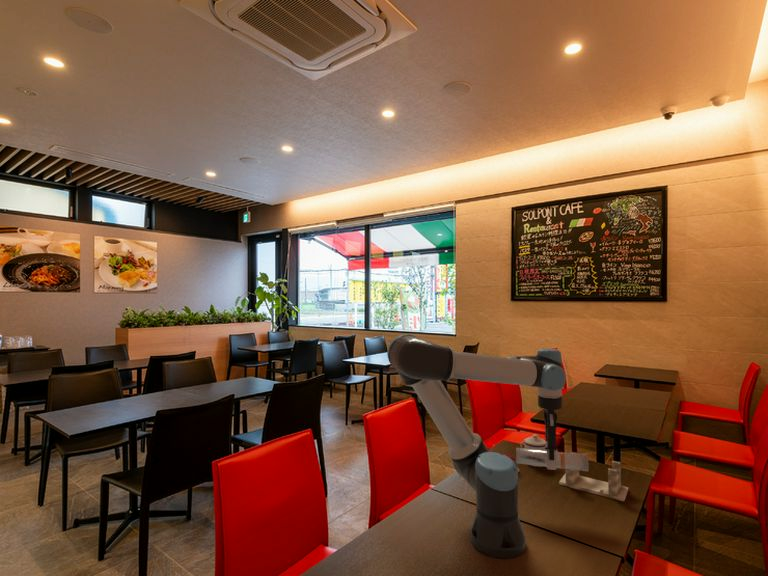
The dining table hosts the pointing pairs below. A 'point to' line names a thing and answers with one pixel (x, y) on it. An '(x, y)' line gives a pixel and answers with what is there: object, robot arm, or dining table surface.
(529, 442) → the teacup with lid
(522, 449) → the steel tube
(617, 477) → the collar stand
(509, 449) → the dining table surface
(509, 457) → the apple
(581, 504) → the dining table surface
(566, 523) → the dining table surface
